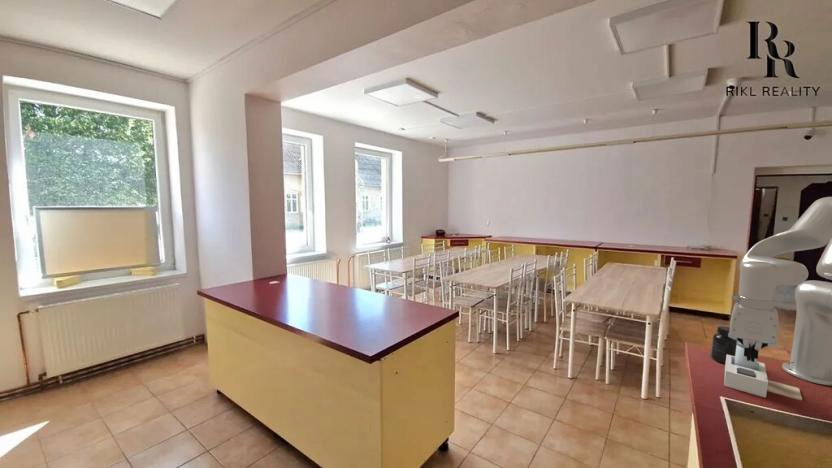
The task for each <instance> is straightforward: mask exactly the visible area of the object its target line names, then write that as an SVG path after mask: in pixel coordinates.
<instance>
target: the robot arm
mask: <svg viewBox="0 0 832 468" xmlns="http://www.w3.org/2000/svg"><path fill="white" fill-rule="evenodd" d="M825 246H826V247H825ZM822 247H825V248H824V250H823V252H822V253H821V257H820V258H819V260H818V262H817V265H816V269H815V270H816V273H817V275H818V276H819V277H821V278H825V279H826V280H831V281H832V196H826V197H825V196H824V197H822V198H819V199H817V200H815V201H814V202H813V203H811V205H810V206H808V208H807V209H806V210H805V211H804V213H803V214H801V216H800V217H799V218H798V219H797V221H796V222H795V223H793V225H792V226H791V227H790V228H789V229H788V230H786V231H783V232H779V233H776V234H774V235H772V236H769V237H767V238H764V239H762V240H760V241H758V242H757V243H755V244H754V245H753V246H752V247H751V248H750V249H749V250H748V251H747V252H746V253H745V255H743V257H742V258H741V260H740V262H739V266H738V267H739V268H738V269H739V271H740V272H739V286H738V293H737V295H731V300H732V301H735V303H734V305H733V307H732V311H731V315H730V322H729V327H730V331H729V333H728V337H730V338H733V339H735V340H738V341H739V342H740V343H741V344H742V345H743V346H744V356H746V357H747V361H750V358H751V361H752V362H754V360H755V359H757V360H758V359H759V351H760V350H762V349H764V348H766V347H779V343H778V341H779V330H780V326H779V325H780V323H779V320H780V319H779V312H778V310H777V309H776V308H775V301H776V300H775V297H776V289H777V288H776V287H795V286H796V287H795V290H794V299H795V303H796V316H795V325H794V330H793V331H794V332H793V340H792V346H791V353H790V359H789V361H784V362H783V363H782V365H781V366H782V367H781V368H782V369H783V370H784V371H785V372H786V373H788V374H790V375H792V376H794V377H796V378H798V379H800V380H804V381H807V382H809V383H810V382H811V383H815V384H818V385H823V386H832V282H829V281H824V280H823V281H822V280H813V279H812V280H807V279H808V277H809V271H808V269H807V267H806V266H805V265H804V264H803V263H800V262H797V261H793V260H790V259H789V260H788V259H784V258H783V259H782V258H777V257H774V256H777V255H781V254H784V253H790V252H799V251H801V252H802V251H807V250H815V249H818V248H822ZM749 341H751V342H754V345H753V346H752V348H751V346H750V344H749ZM789 362H790V364H789ZM791 362H794V363H791ZM803 364H804V365H803ZM815 366H818V367H815Z"/></svg>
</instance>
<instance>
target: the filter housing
mask: <svg viewBox="0 0 832 468" xmlns="http://www.w3.org/2000/svg"><path fill="white" fill-rule="evenodd" d="M734 363H735V356H731V355H727V354H726V363H725V364H724V380H723V381H724V382H723V384H724V387H728V388H731V389H733V390H737V391H741V392H744V393H748V394H751V395H754V396H758V397H762V398H765V399H766V398H767V394H768V393H767V392H768V391H767V386H768V380H769V379H768V375H767V370H766V364H765V362H759V361H757V366H756V370H753V369H749V368H745V367H741V366H737V365H734ZM738 367H740V368H743V369H747V370H751V371H754V377H750V376H746V375H742V374H739V373H738Z"/></svg>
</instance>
